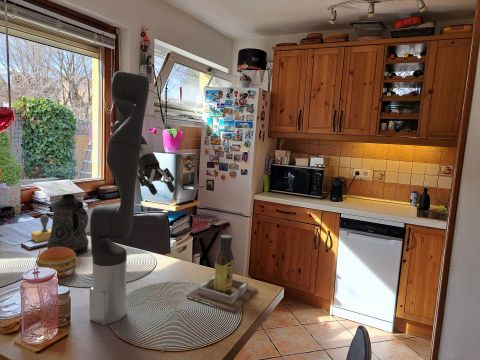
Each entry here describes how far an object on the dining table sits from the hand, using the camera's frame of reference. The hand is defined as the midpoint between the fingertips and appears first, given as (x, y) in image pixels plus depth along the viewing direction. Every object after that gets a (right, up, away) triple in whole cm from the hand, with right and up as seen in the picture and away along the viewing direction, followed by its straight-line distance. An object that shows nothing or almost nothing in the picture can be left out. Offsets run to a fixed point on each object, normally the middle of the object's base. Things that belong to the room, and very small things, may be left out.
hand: (164, 192), depth 123 cm
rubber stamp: (-67, -24, +38) cm, 80 cm away
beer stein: (-47, -27, +25) cm, 60 cm away
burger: (-40, -31, +1) cm, 51 cm away
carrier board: (+22, -35, -7) cm, 42 cm away
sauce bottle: (+22, -34, -7) cm, 41 cm away
